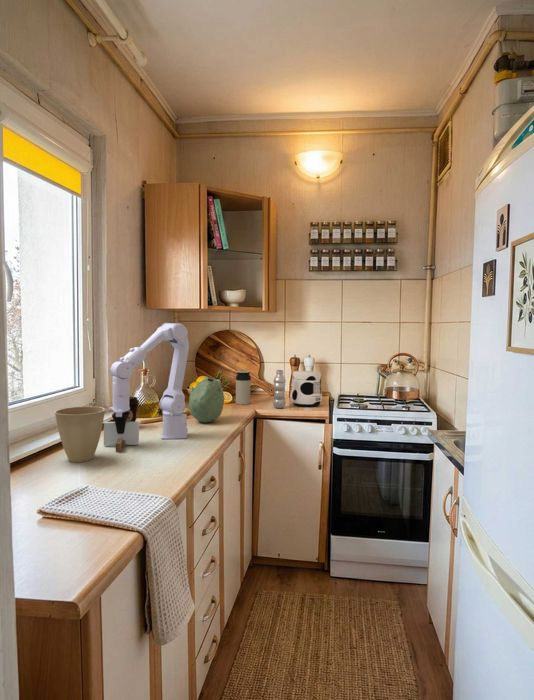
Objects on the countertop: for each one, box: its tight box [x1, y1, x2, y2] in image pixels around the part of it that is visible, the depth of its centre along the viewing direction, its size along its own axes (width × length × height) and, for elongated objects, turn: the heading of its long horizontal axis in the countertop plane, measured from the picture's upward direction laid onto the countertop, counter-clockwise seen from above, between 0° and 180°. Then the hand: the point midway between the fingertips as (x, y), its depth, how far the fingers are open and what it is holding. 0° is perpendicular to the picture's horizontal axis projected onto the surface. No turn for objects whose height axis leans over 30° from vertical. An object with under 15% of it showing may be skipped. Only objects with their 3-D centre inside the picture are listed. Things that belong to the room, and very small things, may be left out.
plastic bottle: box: [272, 369, 287, 409], centre depth 248 cm, size 6×7×20 cm
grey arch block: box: [103, 421, 140, 446], centre depth 170 cm, size 12×2×8 cm, turn 101°
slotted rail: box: [115, 439, 126, 453], centre depth 170 cm, size 2×18×3 cm, turn 11°
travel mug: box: [235, 369, 252, 406], centre depth 260 cm, size 8×8×18 cm
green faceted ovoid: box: [187, 376, 225, 424], centre depth 211 cm, size 16×19×20 cm
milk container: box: [290, 370, 323, 407], centre depth 259 cm, size 17×17×18 cm
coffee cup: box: [126, 396, 140, 422], centre depth 196 cm, size 9×8×13 cm
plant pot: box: [54, 405, 106, 463], centre depth 153 cm, size 15×15×16 cm
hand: (121, 432), depth 170 cm, fingers closed on grey arch block, 2 cm apart
